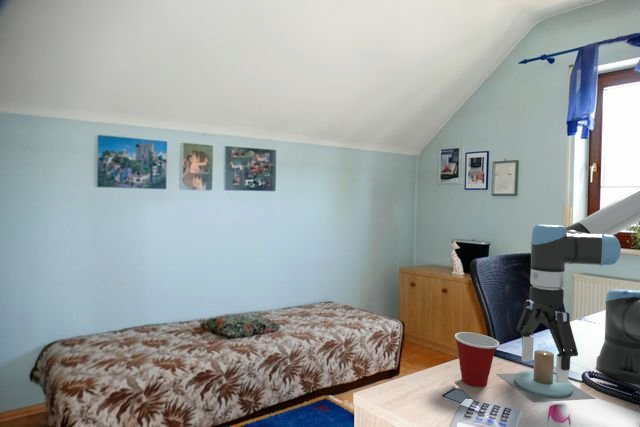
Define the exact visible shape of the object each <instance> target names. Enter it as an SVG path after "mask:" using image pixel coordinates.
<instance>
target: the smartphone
mask: <svg viewBox="0 0 640 427" xmlns="http://www.w3.org/2000/svg"><path fill="white" fill-rule="evenodd" d="M440 398H441V399H443V400H444V401H445V400H446V401H447V402H449V403H452V404H453V403H454V404H455V405H458V406H461V405H460V404H461V403H462V402H463V401H464V400H465V399H473V398H472V397H471V396H469V395H468V393H467V392H465V390H463V389H461V388H459V387H454V388H451V389H449V390H448V391H445V392H444V393H443V394H441V395H440Z"/></svg>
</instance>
